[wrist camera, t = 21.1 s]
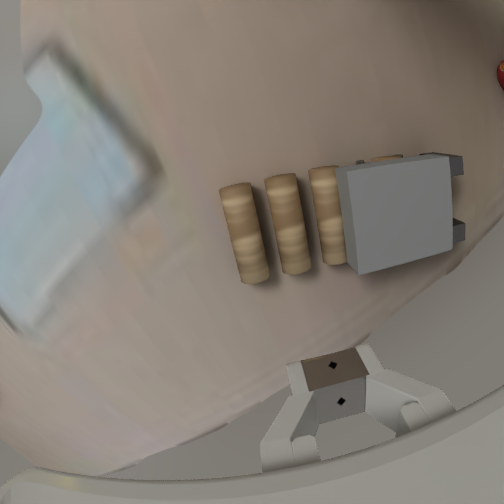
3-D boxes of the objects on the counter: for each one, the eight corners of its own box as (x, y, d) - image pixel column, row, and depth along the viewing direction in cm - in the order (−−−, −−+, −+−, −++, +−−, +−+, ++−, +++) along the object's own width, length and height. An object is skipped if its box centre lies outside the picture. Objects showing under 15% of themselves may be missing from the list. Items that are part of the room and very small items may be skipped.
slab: (334, 168, 35) (346, 171, 31) (431, 154, 35) (448, 156, 31) (347, 263, 39) (358, 275, 35) (436, 240, 39) (452, 249, 35)
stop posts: (419, 153, 38) (448, 157, 32) (433, 152, 38) (462, 156, 32) (425, 229, 42) (452, 243, 36) (438, 226, 42) (465, 239, 36)
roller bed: (219, 187, 39) (218, 192, 35) (399, 154, 38) (413, 156, 35) (240, 274, 43) (241, 286, 39) (406, 236, 42) (419, 244, 39)
